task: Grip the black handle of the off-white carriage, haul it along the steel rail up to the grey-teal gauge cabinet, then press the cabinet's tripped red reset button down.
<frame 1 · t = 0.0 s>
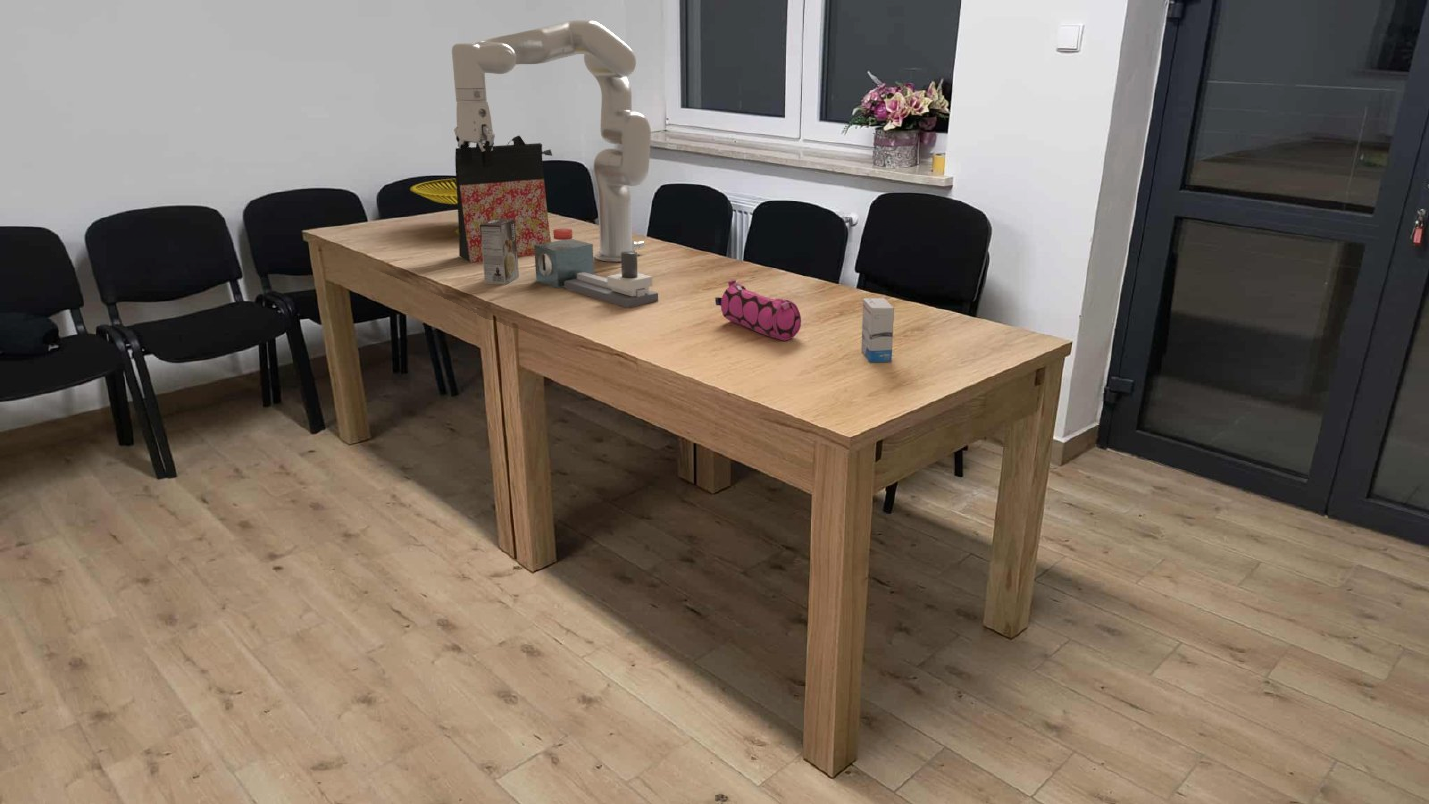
hand: (476, 165, 252), 31 cm above the table, tool pointing down, fingers open, 9 cm apart
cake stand: (476, 231, 329), on the table
carriage: (629, 272, 246), point 7 cm above the table, slide at 8.0 cm
pencil case: (759, 331, 225), on the table
reset button: (562, 234, 262), point 13 cm above the table, slide at 1.5 cm
ink box: (875, 357, 208), on the table
gauge cabinet: (565, 280, 267), on the table
coffee box: (502, 280, 267), on the table
rail bed: (610, 294, 254), on the table
gift bag: (512, 255, 297), on the table
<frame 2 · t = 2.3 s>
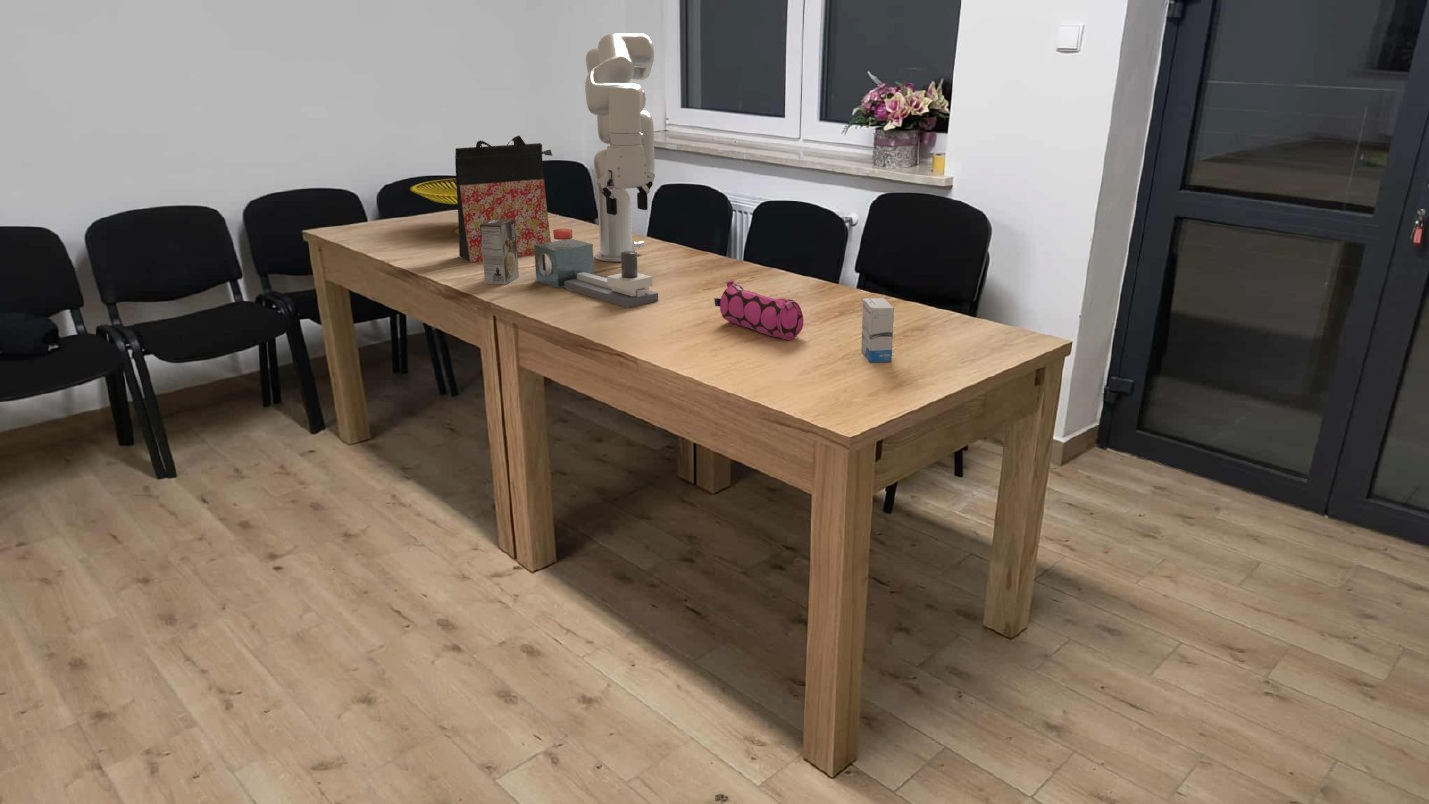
hand: (627, 211, 240), 22 cm above the table, tool pointing down, fingers open, 9 cm apart
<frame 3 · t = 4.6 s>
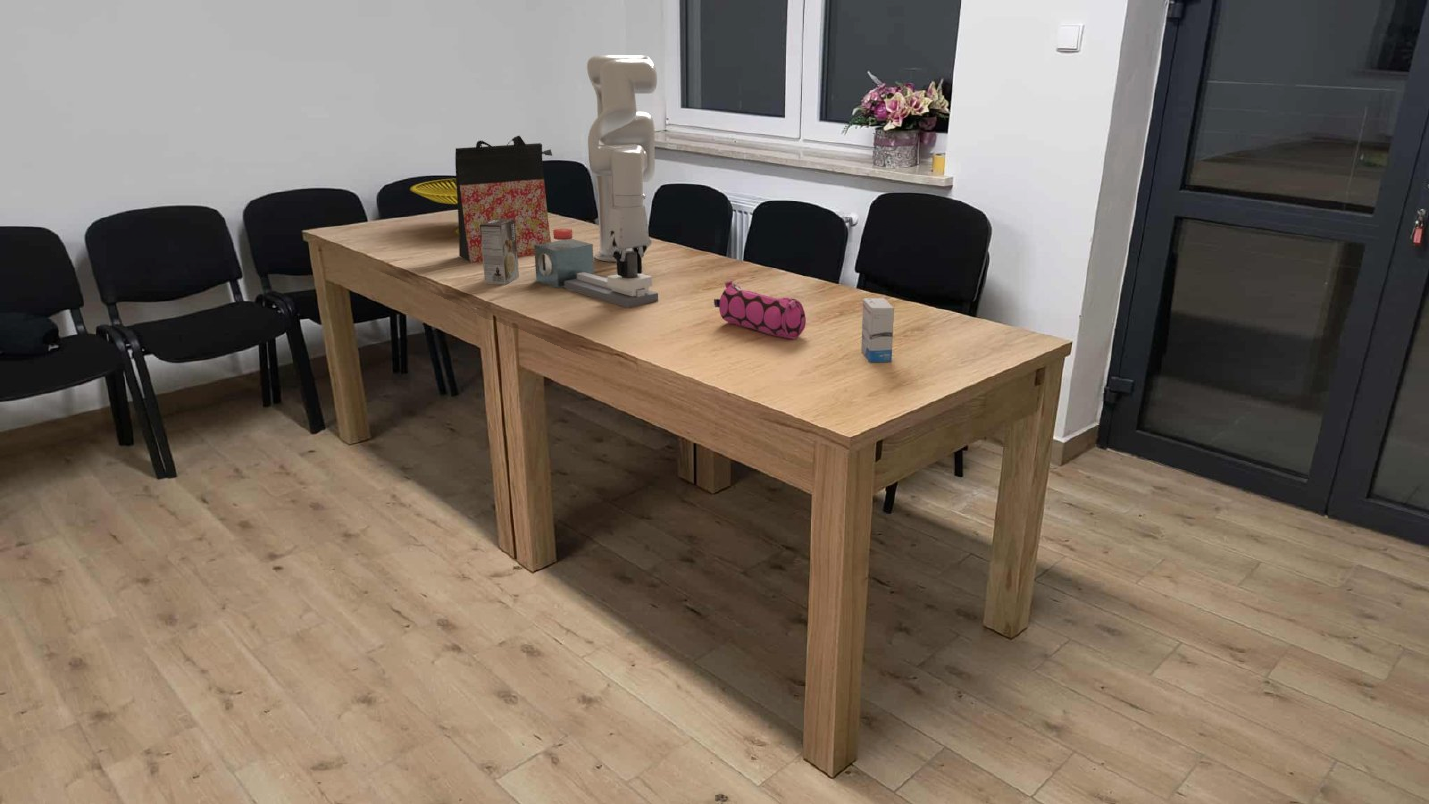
hand: (629, 273, 246), 7 cm above the table, tool pointing down, fingers closed on carriage, 4 cm apart
carriage: (629, 272, 246), point 7 cm above the table, slide at 8.0 cm, touching gripper
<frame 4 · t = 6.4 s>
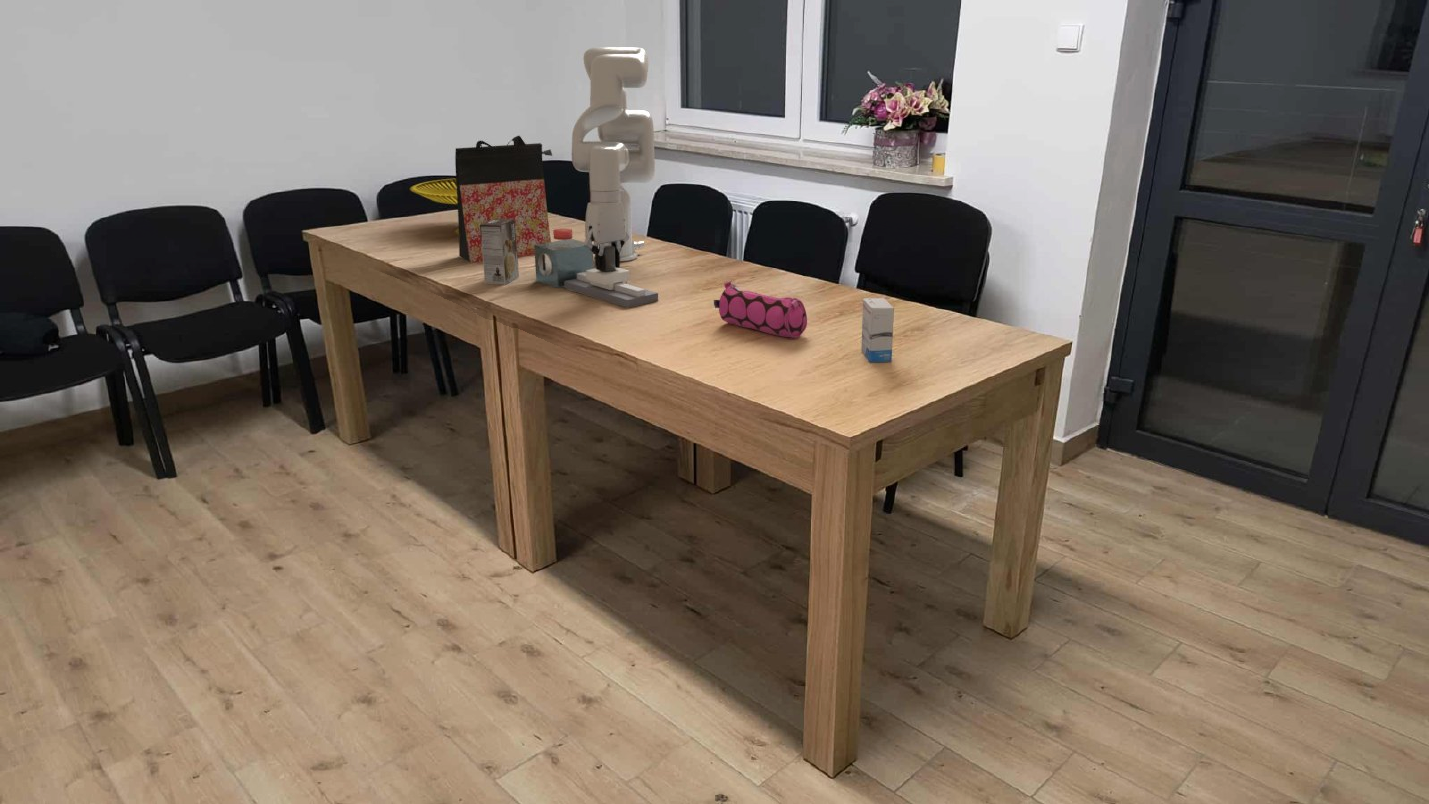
hand: (607, 267, 252), 7 cm above the table, tool pointing down, fingers closed on carriage, 4 cm apart
carriage: (607, 266, 251), point 7 cm above the table, slide at -0.7 cm, touching gripper
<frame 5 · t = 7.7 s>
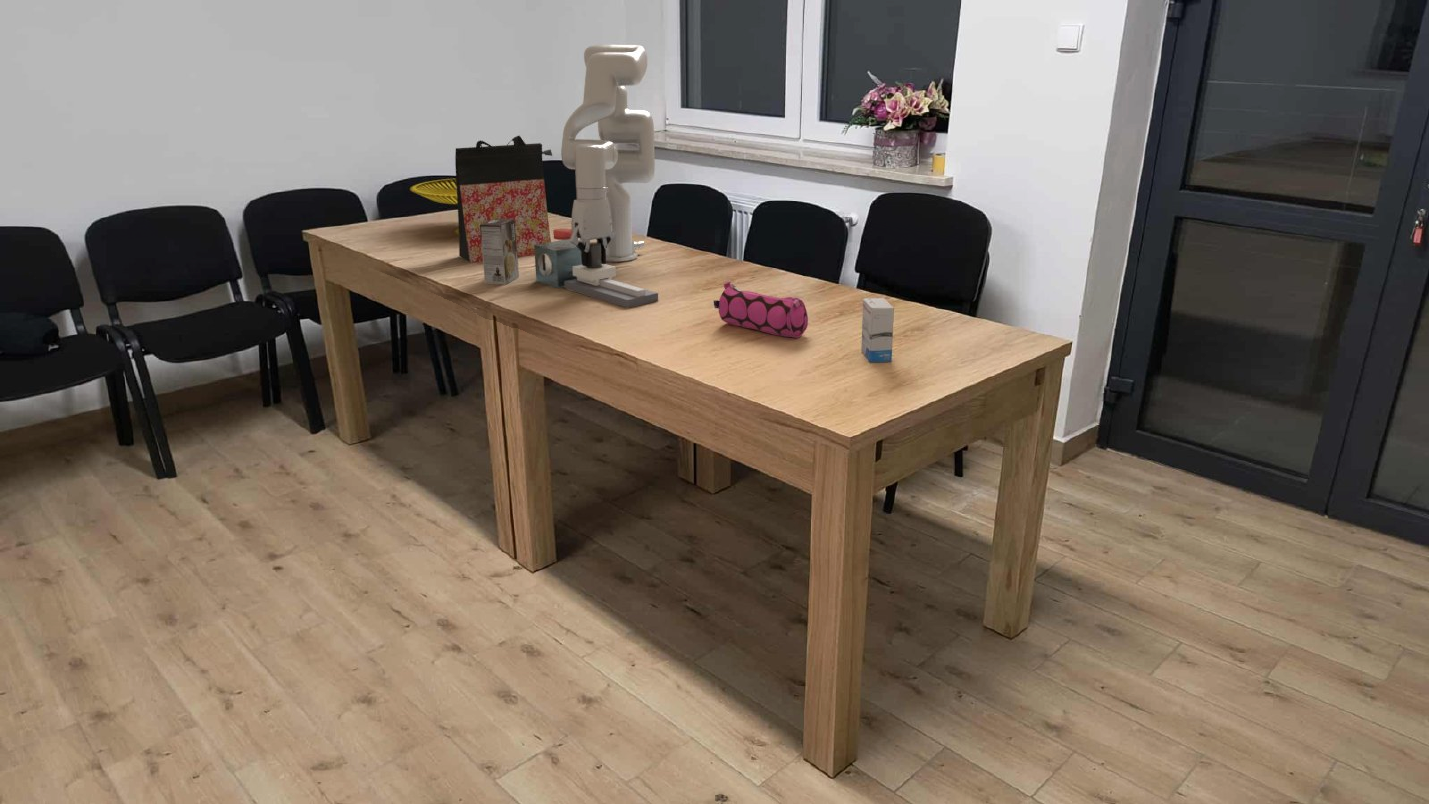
hand: (594, 264, 255), 7 cm above the table, tool pointing down, fingers closed on carriage, 4 cm apart
carriage: (593, 262, 255), point 7 cm above the table, slide at -6.4 cm, touching gripper
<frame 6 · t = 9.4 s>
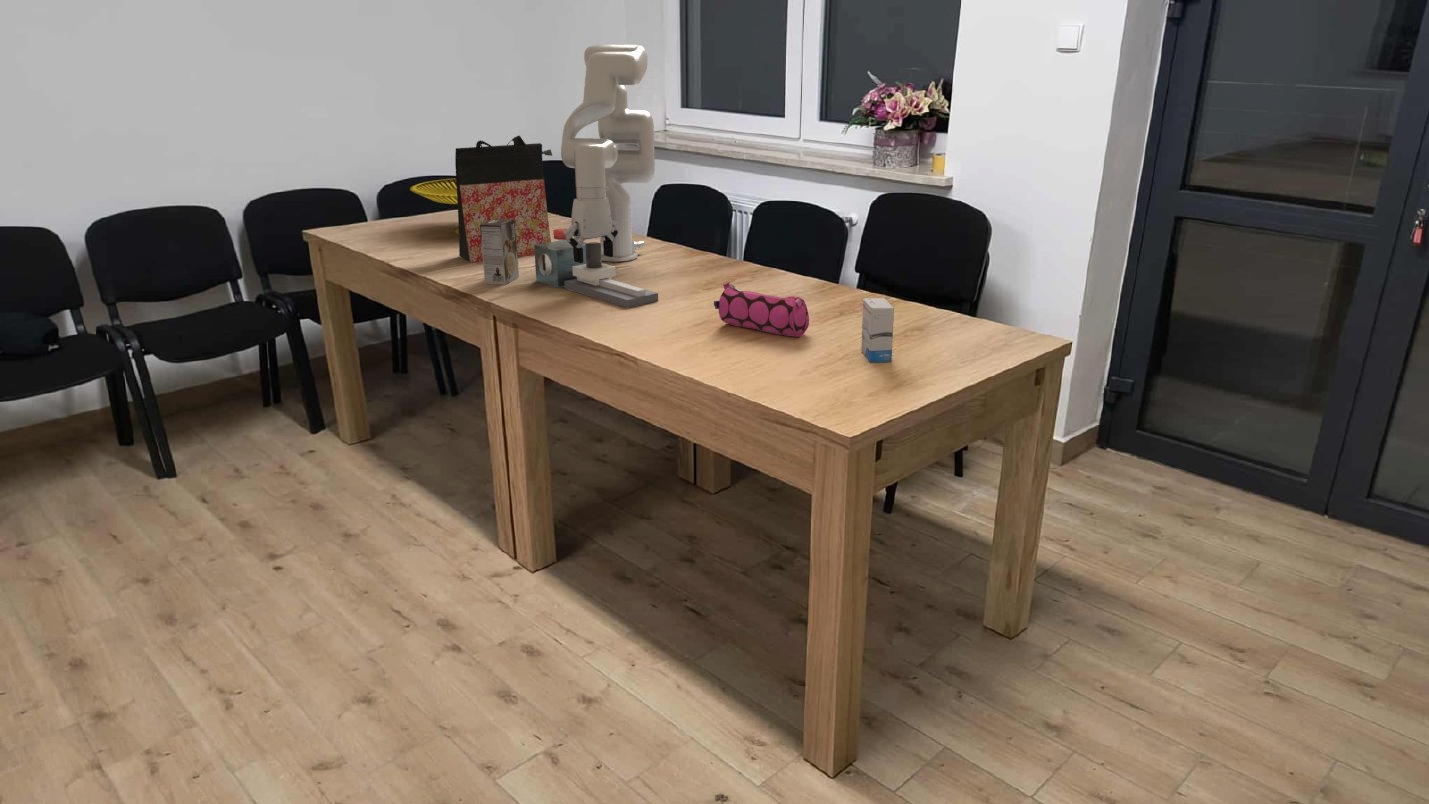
hand: (593, 259, 255), 8 cm above the table, tool pointing down, fingers open, 9 cm apart
carriage: (593, 262, 255), point 7 cm above the table, slide at -6.5 cm
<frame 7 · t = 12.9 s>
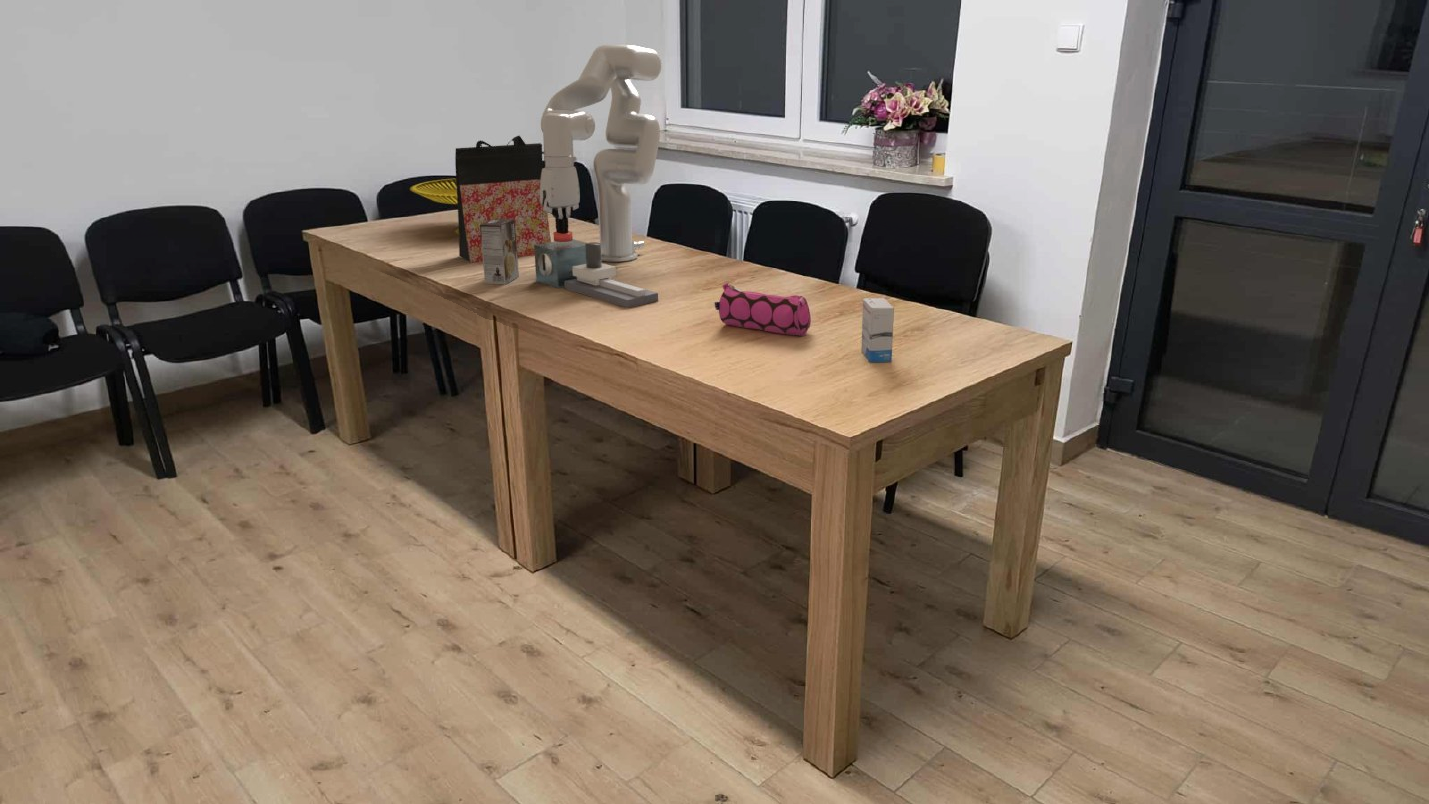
hand: (562, 232, 262), 13 cm above the table, tool pointing down, fingers closed
reset button: (563, 236, 262), point 12 cm above the table, slide at 0.9 cm, touching gripper
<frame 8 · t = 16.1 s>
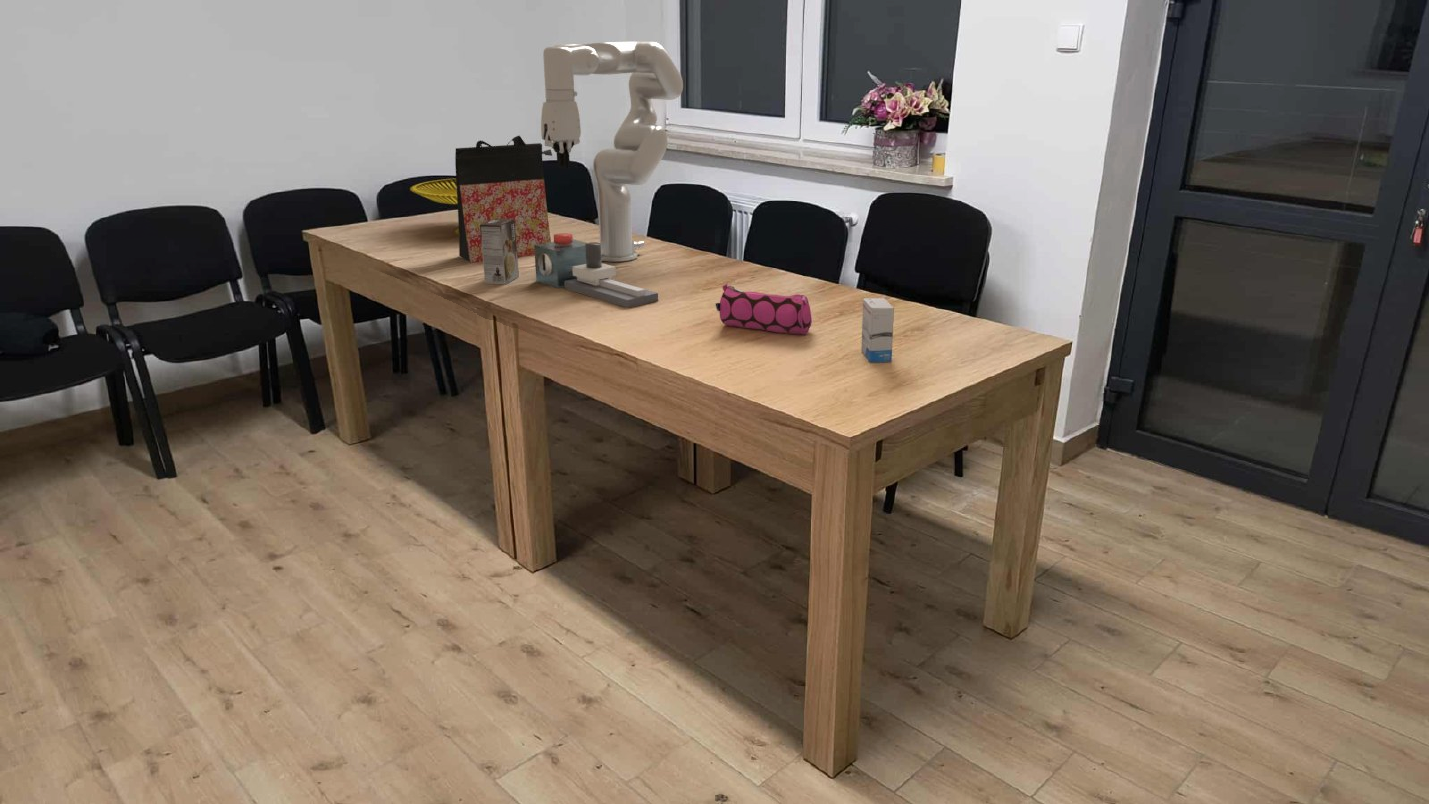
hand: (563, 167, 264), 29 cm above the table, tool pointing down, fingers closed
reset button: (563, 238, 262), point 12 cm above the table, slide at 0.2 cm
at the end: carriage slide at -6.5 cm; reset button slide at 0.2 cm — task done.
